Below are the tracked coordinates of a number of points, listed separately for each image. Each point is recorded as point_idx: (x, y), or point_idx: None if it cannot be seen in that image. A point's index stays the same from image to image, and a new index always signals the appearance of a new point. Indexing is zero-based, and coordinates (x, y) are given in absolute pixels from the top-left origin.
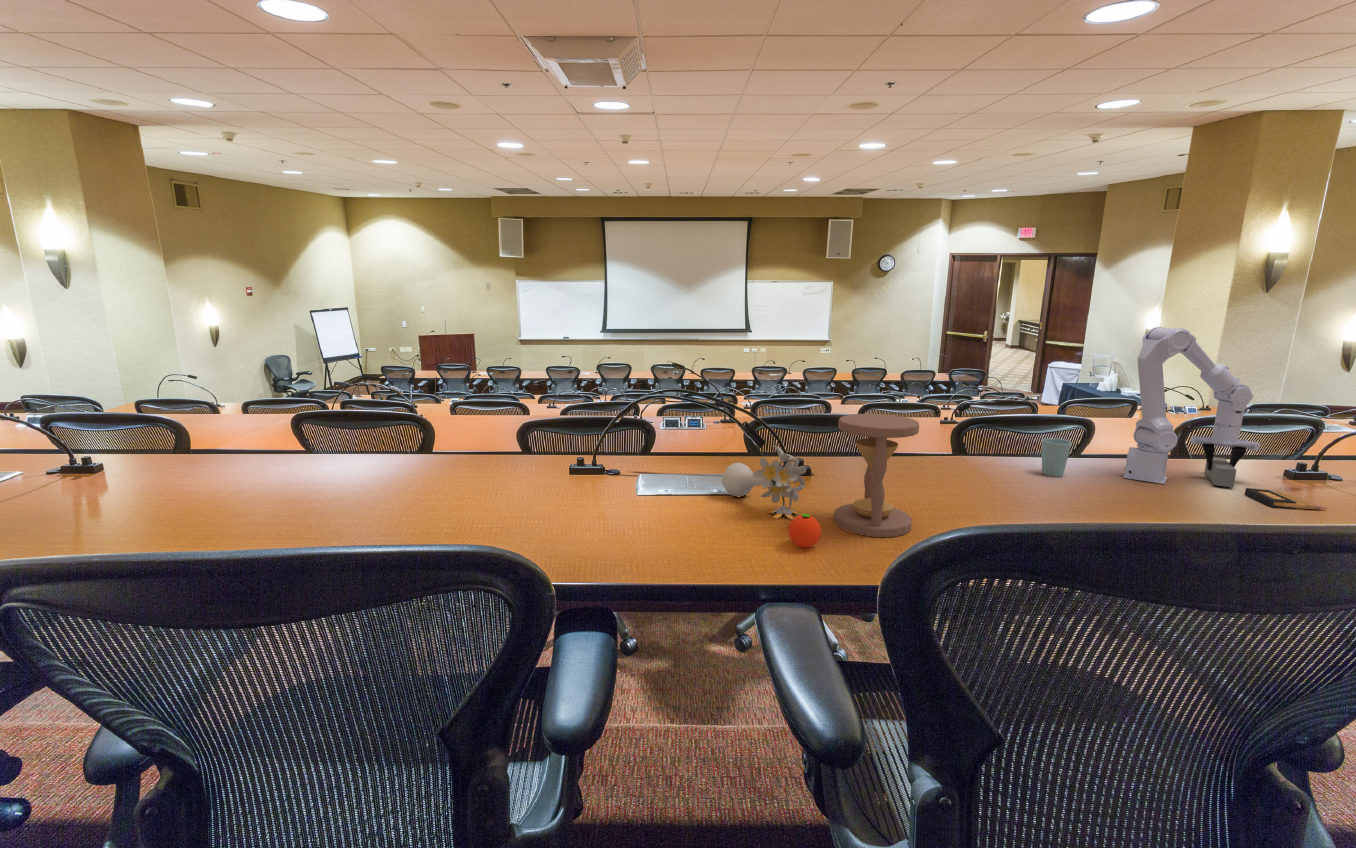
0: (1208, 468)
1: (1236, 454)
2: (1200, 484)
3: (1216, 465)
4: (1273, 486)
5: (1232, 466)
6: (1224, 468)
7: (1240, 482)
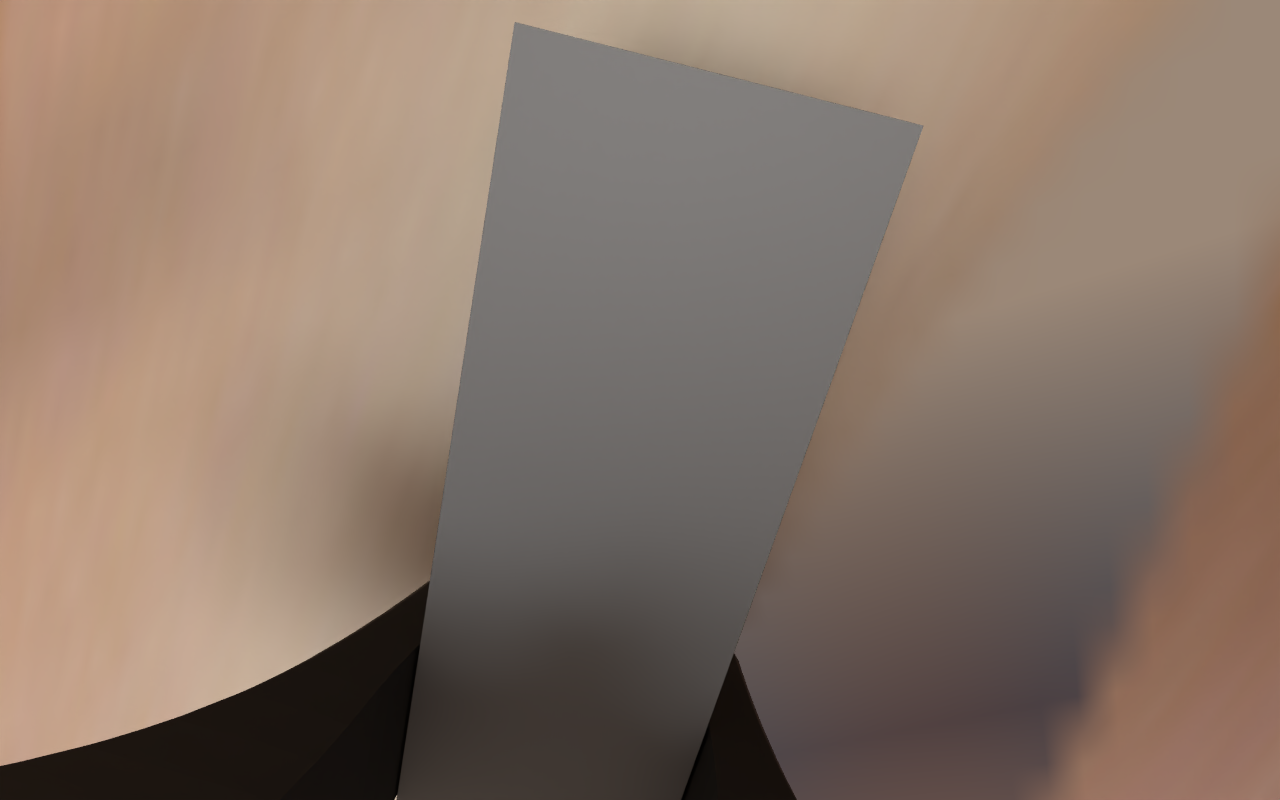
0: (740, 671)
1: (223, 793)
2: (970, 256)
3: (775, 458)
4: (65, 453)
5: (454, 474)
6: (757, 111)
7: (366, 539)
